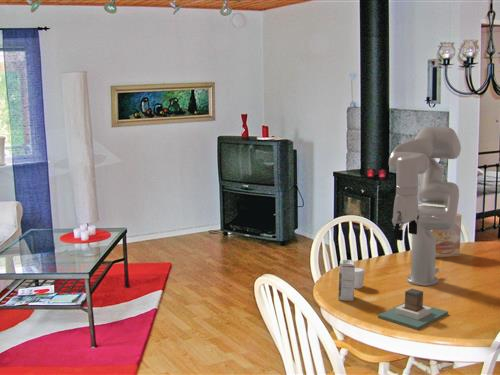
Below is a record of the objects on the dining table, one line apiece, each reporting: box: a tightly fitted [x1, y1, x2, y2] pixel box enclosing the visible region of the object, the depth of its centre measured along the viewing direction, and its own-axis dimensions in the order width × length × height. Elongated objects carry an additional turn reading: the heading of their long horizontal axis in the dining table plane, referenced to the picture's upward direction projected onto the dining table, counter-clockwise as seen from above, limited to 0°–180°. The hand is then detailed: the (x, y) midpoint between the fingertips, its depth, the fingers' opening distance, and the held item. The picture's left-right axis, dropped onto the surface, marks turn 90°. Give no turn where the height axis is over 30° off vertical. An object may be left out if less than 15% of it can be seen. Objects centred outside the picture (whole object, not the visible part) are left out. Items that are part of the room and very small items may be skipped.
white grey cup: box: [354, 266, 366, 289], centre depth 269 cm, size 7×7×7 cm
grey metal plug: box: [404, 288, 424, 312], centre depth 236 cm, size 4×4×8 cm
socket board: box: [377, 302, 449, 331], centre depth 237 cm, size 20×16×3 cm
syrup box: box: [337, 259, 356, 302], centre depth 254 cm, size 6×6×14 cm
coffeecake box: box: [431, 213, 463, 258], centre depth 310 cm, size 15×7×20 cm, turn 104°
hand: (405, 236), depth 243 cm, fingers open, 9 cm apart
